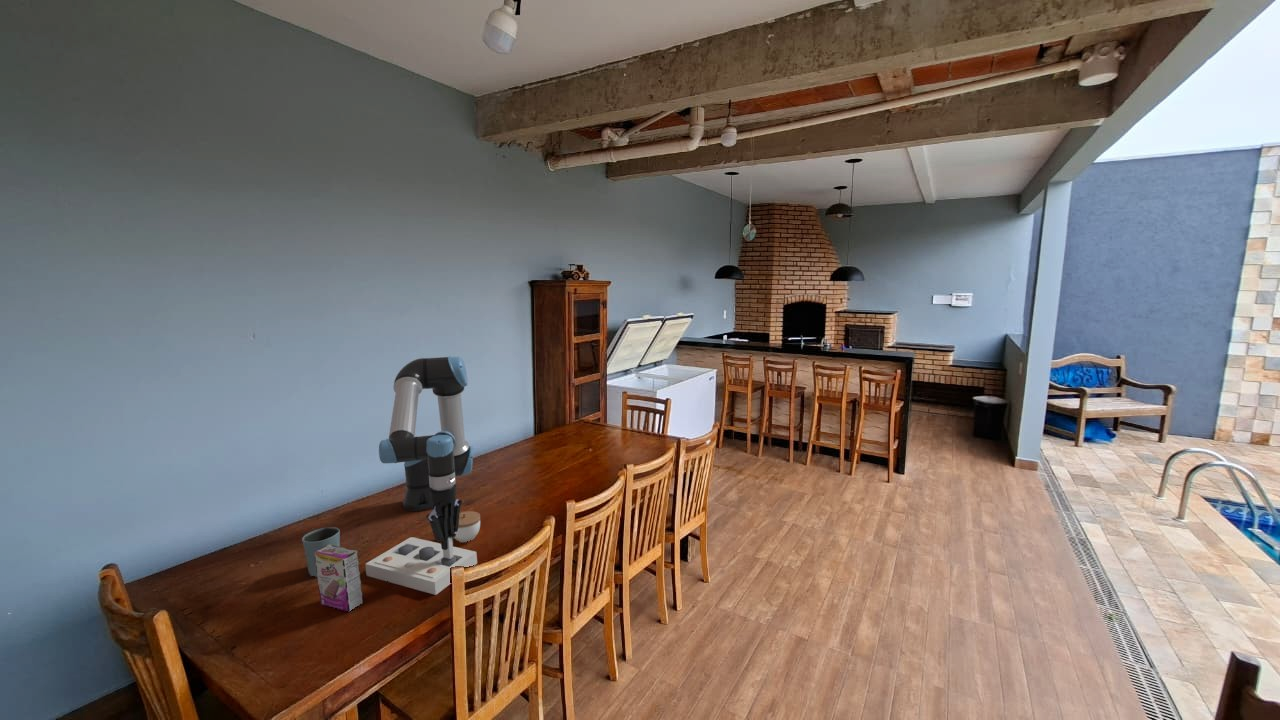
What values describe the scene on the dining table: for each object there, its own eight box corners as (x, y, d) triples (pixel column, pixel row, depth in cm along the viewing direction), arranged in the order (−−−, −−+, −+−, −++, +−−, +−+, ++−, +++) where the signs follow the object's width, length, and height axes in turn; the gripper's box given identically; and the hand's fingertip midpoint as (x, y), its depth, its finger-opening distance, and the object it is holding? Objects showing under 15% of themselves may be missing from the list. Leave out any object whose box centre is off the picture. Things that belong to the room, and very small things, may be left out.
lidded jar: (471, 547, 173) (469, 521, 172) (443, 544, 175) (441, 519, 174) (487, 532, 184) (485, 508, 182) (460, 529, 186) (458, 505, 184)
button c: (448, 562, 161) (448, 553, 161) (459, 565, 159) (459, 556, 159) (438, 569, 157) (437, 560, 156) (449, 572, 155) (449, 563, 155)
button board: (412, 547, 173) (410, 535, 173) (477, 563, 163) (476, 550, 162) (366, 575, 157) (365, 562, 156) (435, 595, 146) (434, 580, 146)
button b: (427, 554, 164) (426, 545, 164) (437, 556, 163) (436, 548, 162) (416, 561, 160) (415, 552, 160) (427, 563, 158) (426, 554, 158)
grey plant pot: (304, 581, 154) (299, 545, 152) (308, 565, 163) (304, 531, 161) (342, 572, 159) (338, 537, 157) (344, 557, 168) (340, 523, 166)
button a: (406, 552, 168) (405, 543, 167) (416, 554, 166) (415, 546, 166) (395, 558, 164) (395, 550, 163) (406, 561, 162) (405, 552, 162)
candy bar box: (319, 606, 142) (312, 552, 140) (335, 595, 147) (329, 543, 144) (349, 613, 139) (343, 558, 136) (364, 603, 143) (358, 549, 141)
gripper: (436, 496, 147) (442, 570, 150) (467, 479, 159) (472, 549, 162) (417, 492, 150) (423, 565, 153) (448, 476, 161) (453, 544, 165)
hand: (448, 556), depth 158 cm, fingers closed
